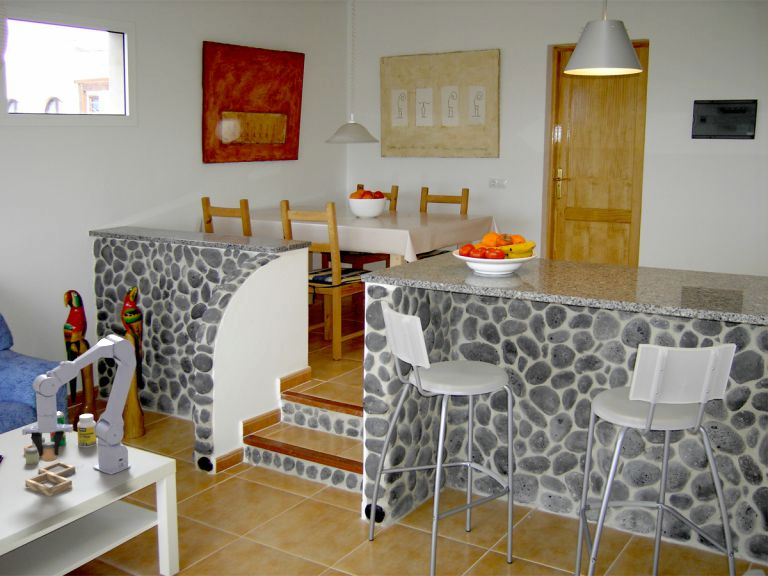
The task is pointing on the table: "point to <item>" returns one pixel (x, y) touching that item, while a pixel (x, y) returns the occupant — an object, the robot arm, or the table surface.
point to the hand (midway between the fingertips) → (49, 454)
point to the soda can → (59, 421)
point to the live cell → (48, 451)
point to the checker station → (52, 478)
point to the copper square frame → (29, 447)
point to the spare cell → (32, 456)
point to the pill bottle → (86, 431)
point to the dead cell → (35, 445)
